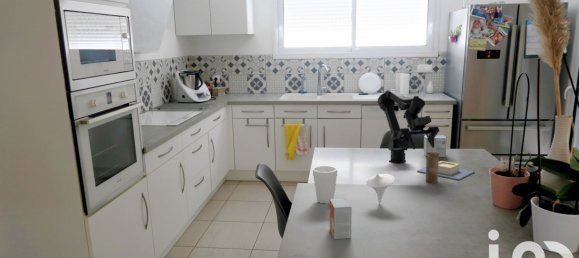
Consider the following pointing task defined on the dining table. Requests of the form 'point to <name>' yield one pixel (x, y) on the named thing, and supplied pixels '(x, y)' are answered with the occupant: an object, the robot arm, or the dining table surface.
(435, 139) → the light bulb box
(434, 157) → the walnut column
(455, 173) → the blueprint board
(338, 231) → the small box
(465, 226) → the dining table surface
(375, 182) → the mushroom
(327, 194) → the foam cup
